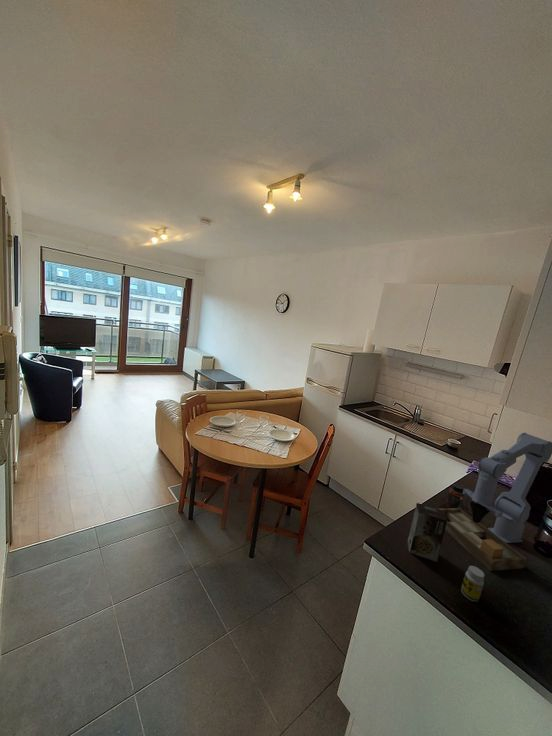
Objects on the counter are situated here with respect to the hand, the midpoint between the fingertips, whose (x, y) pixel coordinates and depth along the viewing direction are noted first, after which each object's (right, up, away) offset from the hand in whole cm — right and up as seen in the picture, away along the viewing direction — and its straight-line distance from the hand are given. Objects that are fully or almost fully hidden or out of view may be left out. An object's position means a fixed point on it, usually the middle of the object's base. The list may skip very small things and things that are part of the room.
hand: (476, 521), depth 110 cm
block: (0, -8, -7) cm, 11 cm away
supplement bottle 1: (+6, -7, +24) cm, 26 cm away
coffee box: (-25, -7, -7) cm, 27 cm away
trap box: (+1, -9, +4) cm, 10 cm away
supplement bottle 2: (-18, -10, -23) cm, 31 cm away
